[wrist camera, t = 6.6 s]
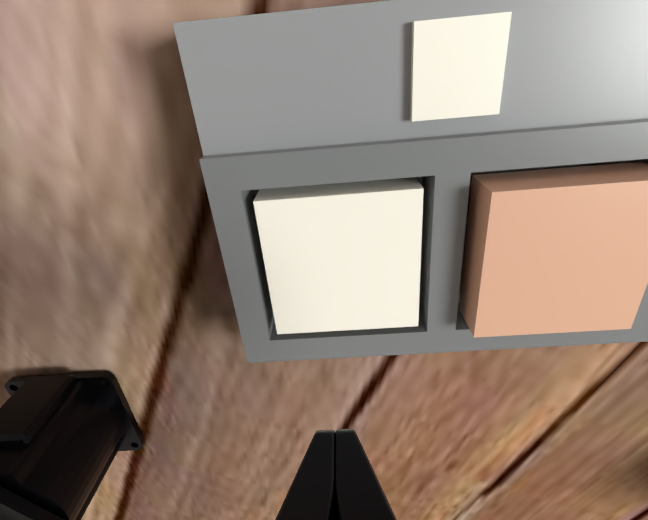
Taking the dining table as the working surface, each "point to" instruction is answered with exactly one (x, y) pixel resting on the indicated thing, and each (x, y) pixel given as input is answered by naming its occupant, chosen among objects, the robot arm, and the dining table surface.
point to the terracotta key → (556, 250)
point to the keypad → (409, 132)
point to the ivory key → (342, 254)
